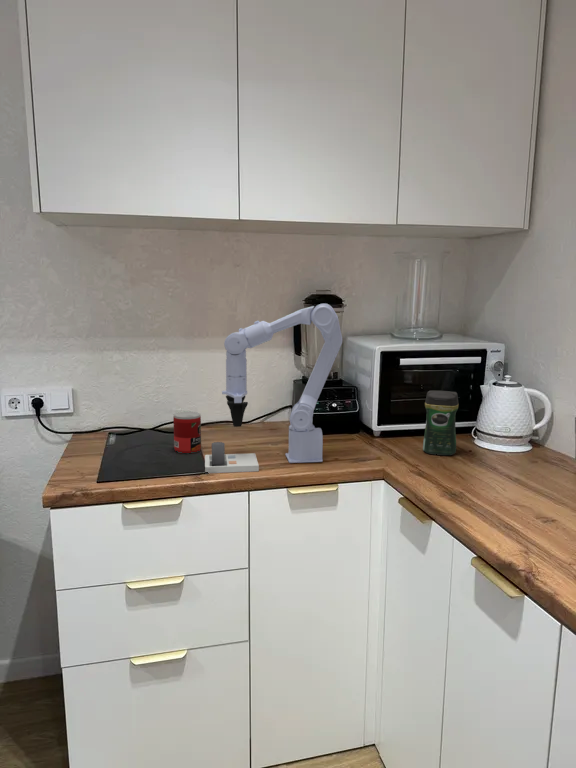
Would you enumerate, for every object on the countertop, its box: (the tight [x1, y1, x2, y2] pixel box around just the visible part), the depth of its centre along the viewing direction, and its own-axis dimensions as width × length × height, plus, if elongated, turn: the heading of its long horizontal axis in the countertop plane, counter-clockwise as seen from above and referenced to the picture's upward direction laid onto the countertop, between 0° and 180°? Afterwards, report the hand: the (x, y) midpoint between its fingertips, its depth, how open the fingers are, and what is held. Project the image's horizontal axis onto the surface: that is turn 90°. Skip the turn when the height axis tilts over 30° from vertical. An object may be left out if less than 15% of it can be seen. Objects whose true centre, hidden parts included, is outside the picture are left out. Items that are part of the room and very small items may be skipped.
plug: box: [211, 441, 226, 466], centre depth 152 cm, size 3×3×7 cm
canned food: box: [173, 411, 202, 454], centre depth 168 cm, size 8×8×11 cm
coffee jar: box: [422, 390, 459, 456], centre depth 169 cm, size 10×8×19 cm
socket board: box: [204, 452, 260, 474], centre depth 155 cm, size 14×11×2 cm
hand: (236, 423), depth 162 cm, fingers open, 7 cm apart
